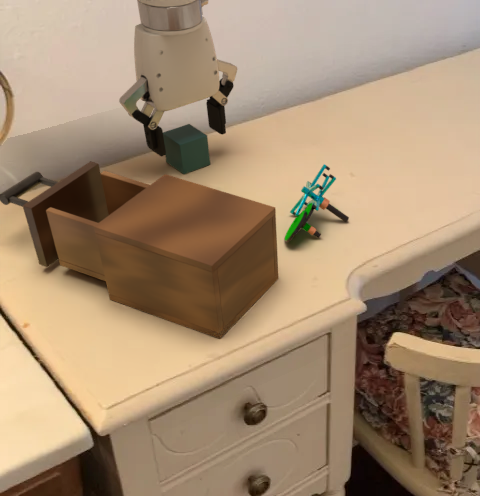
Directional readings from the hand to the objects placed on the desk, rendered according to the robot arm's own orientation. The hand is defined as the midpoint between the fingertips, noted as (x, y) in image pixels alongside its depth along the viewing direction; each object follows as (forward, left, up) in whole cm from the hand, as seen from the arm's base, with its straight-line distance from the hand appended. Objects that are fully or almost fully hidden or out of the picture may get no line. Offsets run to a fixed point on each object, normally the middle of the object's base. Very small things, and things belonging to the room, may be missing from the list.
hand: (188, 141), depth 114 cm
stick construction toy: (+13, -20, -4) cm, 24 cm away
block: (0, 0, -3) cm, 3 cm away
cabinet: (-4, -29, -3) cm, 30 cm away
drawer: (-15, -19, -2) cm, 24 cm away
